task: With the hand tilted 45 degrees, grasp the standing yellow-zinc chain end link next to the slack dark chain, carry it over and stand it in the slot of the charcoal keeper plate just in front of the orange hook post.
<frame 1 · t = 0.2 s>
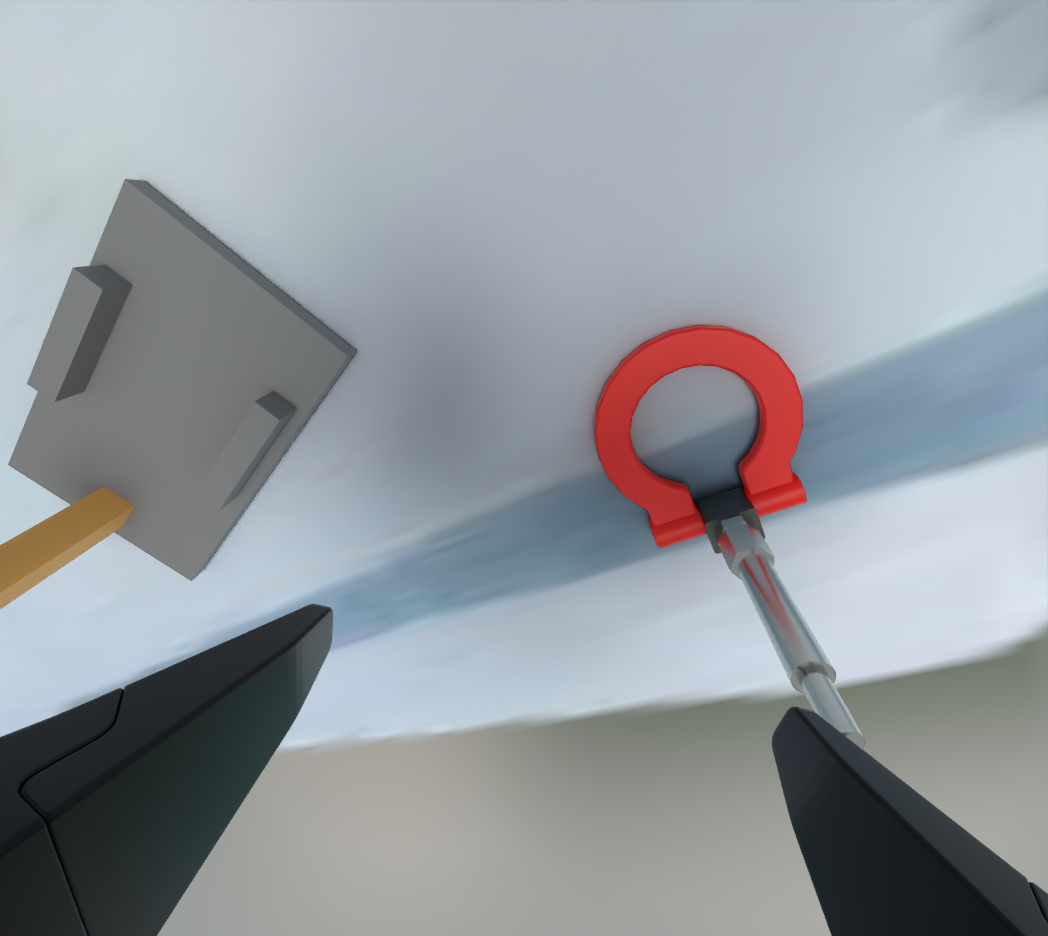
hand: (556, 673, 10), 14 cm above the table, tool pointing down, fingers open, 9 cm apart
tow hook: (693, 430, 23), on the table
keeper: (192, 384, 24), on the table
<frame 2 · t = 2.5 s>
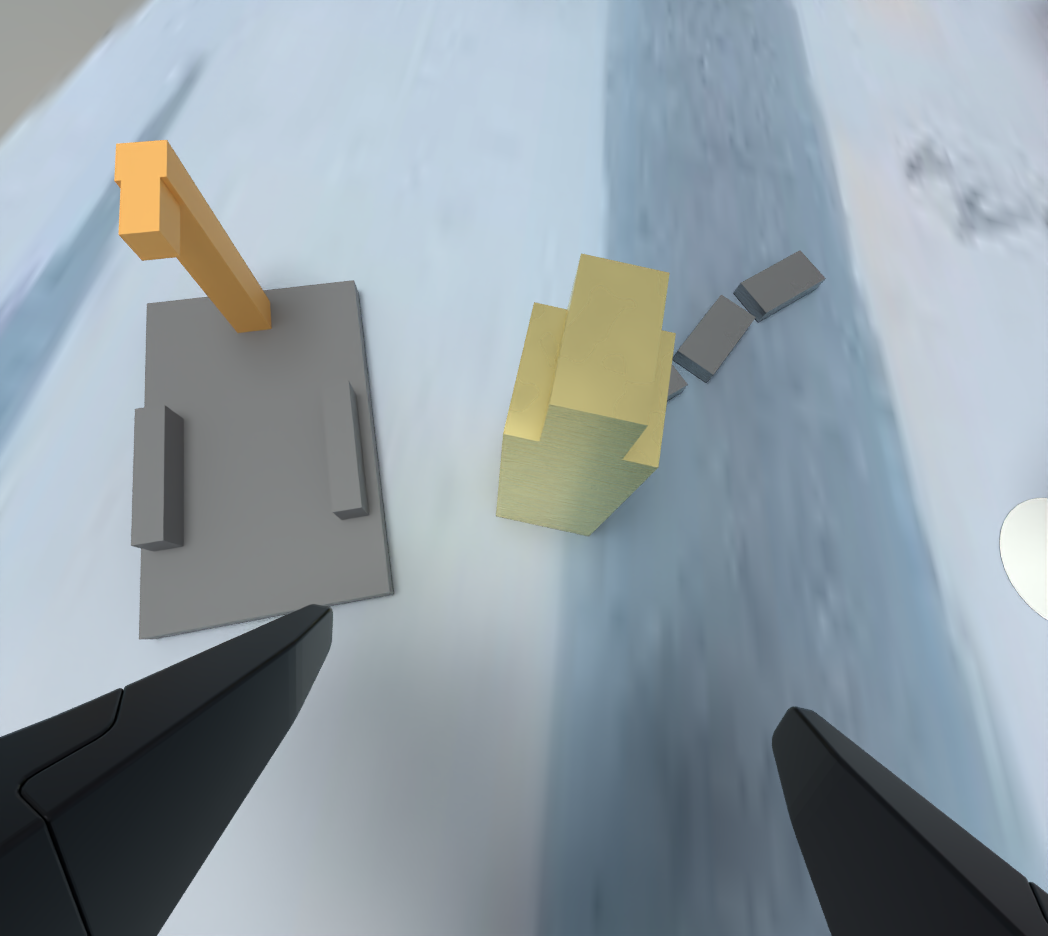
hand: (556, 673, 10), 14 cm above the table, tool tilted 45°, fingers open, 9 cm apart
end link: (551, 481, 26), on the table
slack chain: (710, 342, 29), on the table
keeper: (269, 474, 25), on the table
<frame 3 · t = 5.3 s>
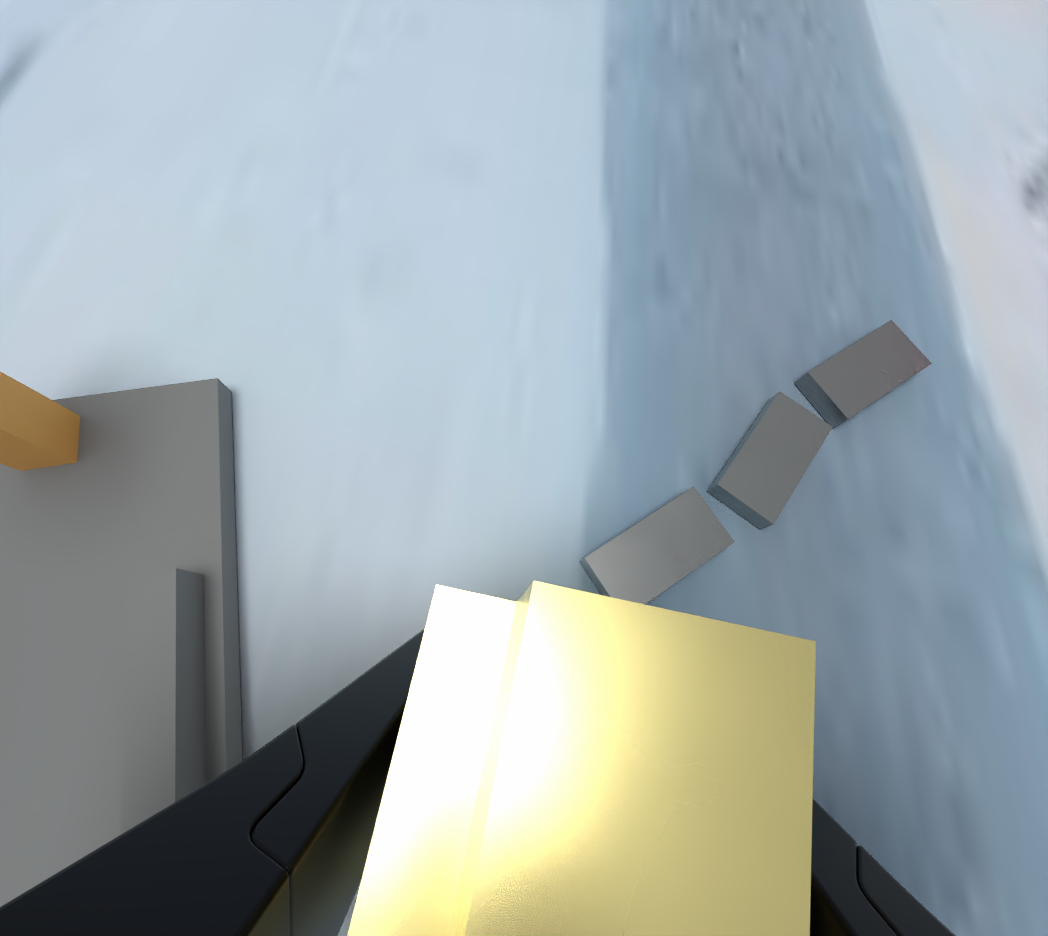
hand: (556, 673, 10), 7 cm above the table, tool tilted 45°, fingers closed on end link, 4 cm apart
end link: (520, 708, 16), on the table, touching gripper
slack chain: (763, 463, 19), on the table
keeper: (57, 712, 15), on the table
when the fingers open (9 cm above the table, at t = 8.9 s): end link drops 1 cm, resting on keeper.
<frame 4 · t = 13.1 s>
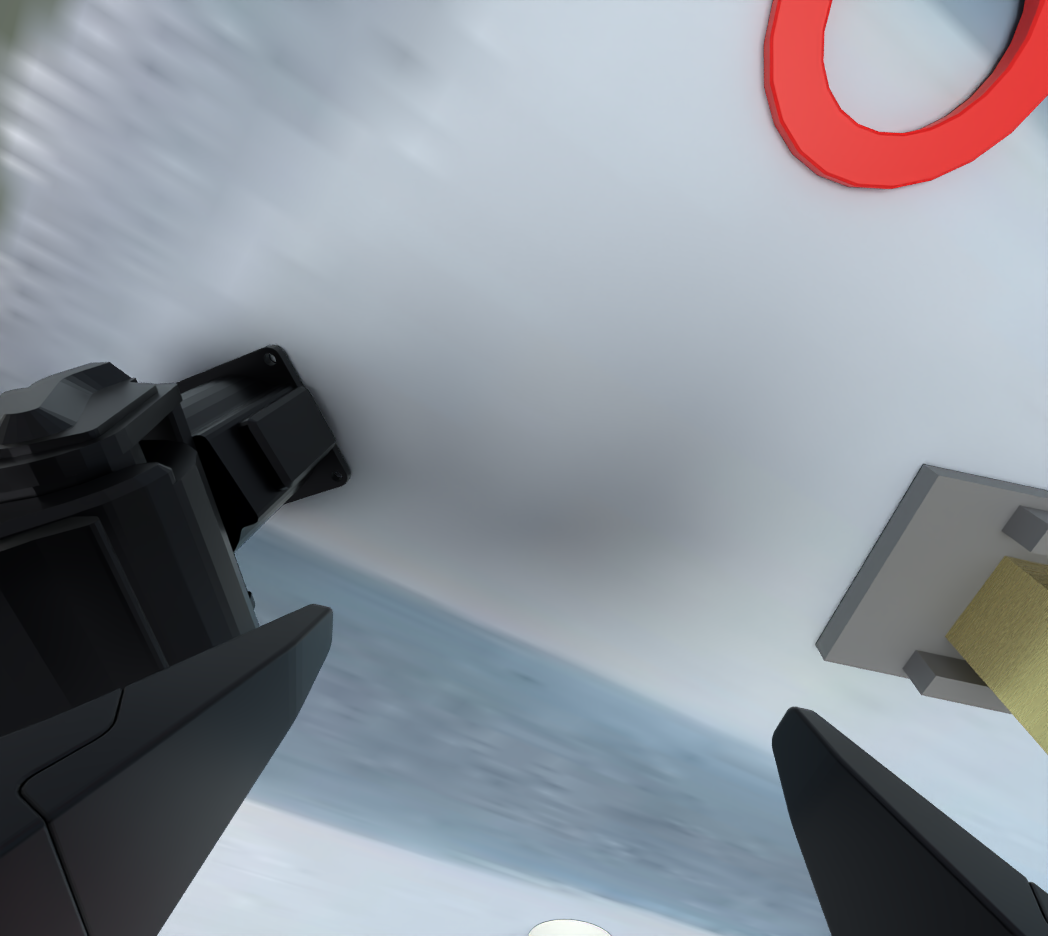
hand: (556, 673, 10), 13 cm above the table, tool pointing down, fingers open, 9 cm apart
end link: (1024, 608, 22), point 1 cm above the table, touching keeper
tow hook: (920, 15, 16), on the table
keeper: (1007, 593, 23), on the table
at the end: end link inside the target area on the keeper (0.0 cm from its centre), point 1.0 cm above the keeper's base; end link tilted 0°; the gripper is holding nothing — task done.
